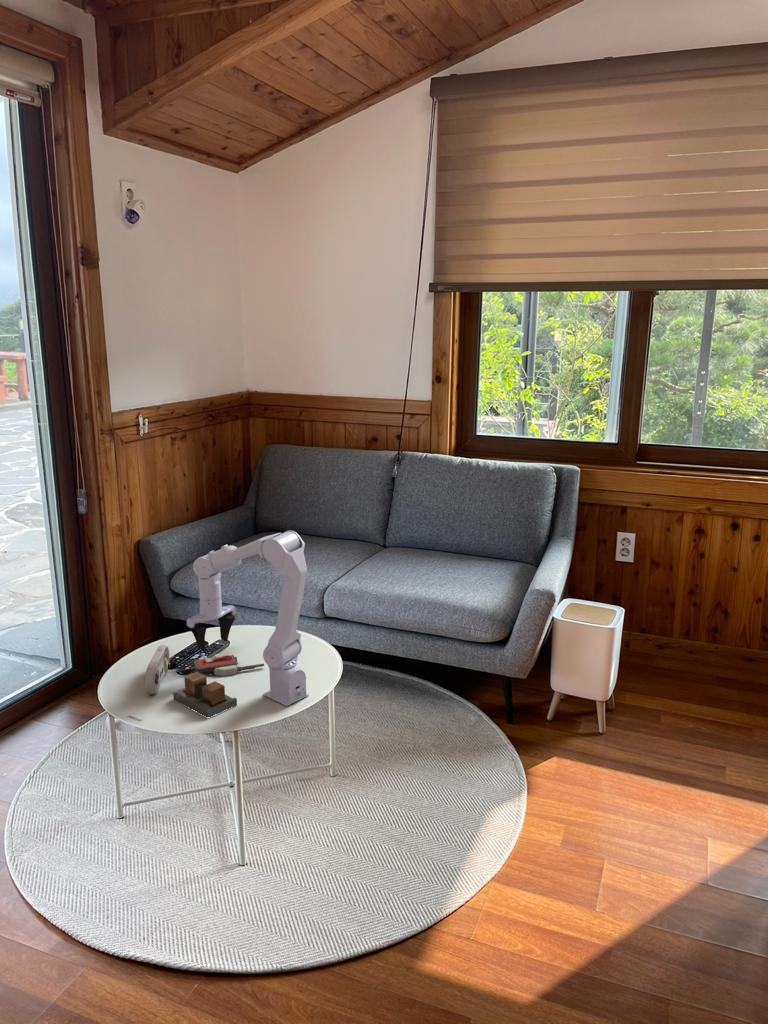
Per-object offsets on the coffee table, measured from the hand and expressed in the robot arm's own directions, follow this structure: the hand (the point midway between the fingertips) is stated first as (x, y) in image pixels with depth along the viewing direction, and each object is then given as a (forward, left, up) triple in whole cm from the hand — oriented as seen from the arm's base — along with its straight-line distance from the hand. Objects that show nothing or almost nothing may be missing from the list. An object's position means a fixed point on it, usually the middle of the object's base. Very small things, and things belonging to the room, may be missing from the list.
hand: (213, 644), depth 211 cm
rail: (-10, +11, -10) cm, 18 cm away
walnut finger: (-6, +11, -10) cm, 16 cm away
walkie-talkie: (+2, -6, -10) cm, 12 cm away
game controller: (+9, +12, -10) cm, 18 cm away
